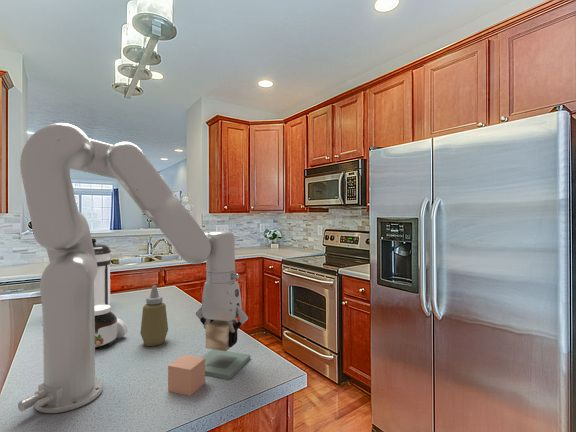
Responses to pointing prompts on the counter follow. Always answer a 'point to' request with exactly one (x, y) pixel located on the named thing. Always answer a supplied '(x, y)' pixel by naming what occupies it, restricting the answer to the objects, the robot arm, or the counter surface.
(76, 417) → the counter surface
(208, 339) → the maple block
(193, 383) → the terracotta block
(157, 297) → the squeeze bottle
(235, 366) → the plate
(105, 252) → the coffee press
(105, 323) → the spread jar
